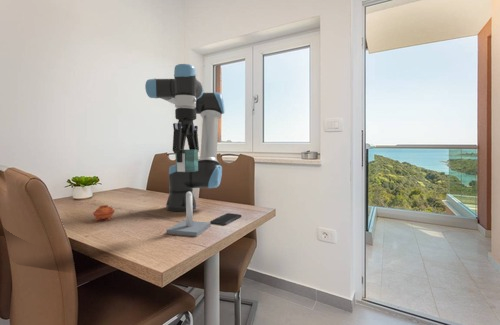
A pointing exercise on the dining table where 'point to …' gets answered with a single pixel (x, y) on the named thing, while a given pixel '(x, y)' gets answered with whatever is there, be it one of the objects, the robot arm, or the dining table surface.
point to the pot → (103, 212)
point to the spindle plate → (189, 230)
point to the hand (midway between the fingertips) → (187, 170)
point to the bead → (190, 160)
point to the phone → (225, 219)
